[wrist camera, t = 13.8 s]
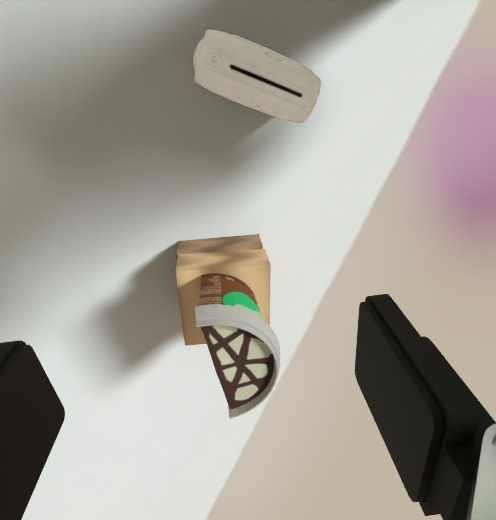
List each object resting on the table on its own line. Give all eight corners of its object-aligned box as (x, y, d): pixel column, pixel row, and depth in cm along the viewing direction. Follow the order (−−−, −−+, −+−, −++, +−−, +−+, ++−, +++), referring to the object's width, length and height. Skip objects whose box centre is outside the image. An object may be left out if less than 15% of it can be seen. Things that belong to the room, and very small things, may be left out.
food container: (275, 338, 42) (293, 407, 33) (226, 350, 42) (230, 422, 33) (255, 248, 36) (270, 303, 28) (197, 262, 36) (194, 321, 28)
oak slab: (264, 248, 41) (270, 265, 37) (264, 318, 46) (269, 338, 42) (178, 254, 40) (175, 271, 37) (186, 324, 45) (185, 345, 41)
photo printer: (191, 82, 35) (183, 83, 24) (203, 35, 34) (201, 14, 23) (283, 118, 38) (314, 134, 27) (299, 76, 36) (339, 75, 25)
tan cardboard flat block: (258, 232, 44) (262, 246, 41) (260, 298, 49) (264, 316, 45) (178, 239, 44) (175, 253, 40) (188, 305, 48) (187, 323, 45)
